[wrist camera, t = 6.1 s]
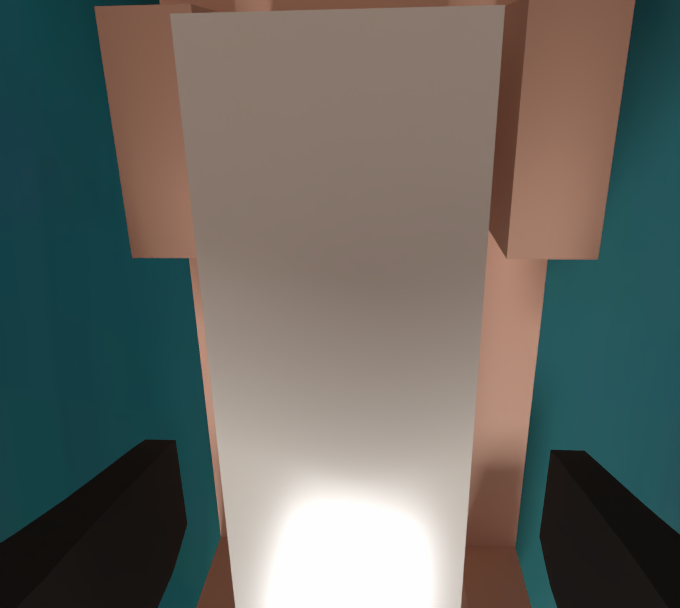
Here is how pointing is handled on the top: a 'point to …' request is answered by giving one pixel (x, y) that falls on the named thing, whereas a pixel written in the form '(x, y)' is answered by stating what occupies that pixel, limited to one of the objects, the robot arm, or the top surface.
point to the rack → (504, 223)
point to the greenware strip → (342, 289)
